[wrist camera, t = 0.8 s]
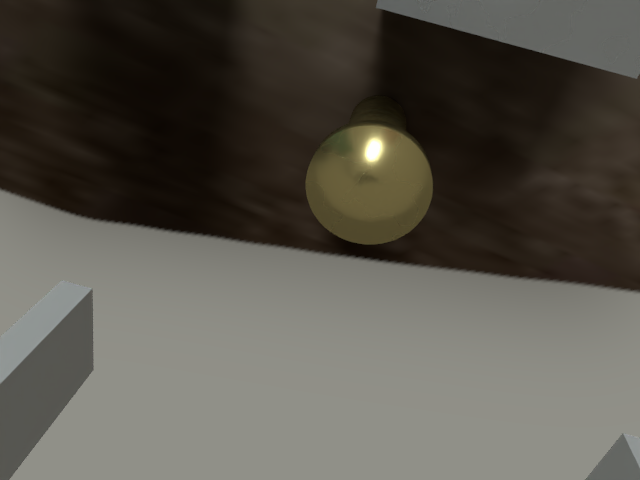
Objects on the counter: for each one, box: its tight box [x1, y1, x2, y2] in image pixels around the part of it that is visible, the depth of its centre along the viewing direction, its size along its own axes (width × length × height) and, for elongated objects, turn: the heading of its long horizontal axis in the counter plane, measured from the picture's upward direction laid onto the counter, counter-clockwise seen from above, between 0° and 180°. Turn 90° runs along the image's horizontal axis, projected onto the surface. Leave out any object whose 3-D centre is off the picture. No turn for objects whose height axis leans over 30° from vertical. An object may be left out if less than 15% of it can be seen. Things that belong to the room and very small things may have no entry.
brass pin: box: [306, 95, 433, 244], centre depth 30 cm, size 6×6×12 cm
